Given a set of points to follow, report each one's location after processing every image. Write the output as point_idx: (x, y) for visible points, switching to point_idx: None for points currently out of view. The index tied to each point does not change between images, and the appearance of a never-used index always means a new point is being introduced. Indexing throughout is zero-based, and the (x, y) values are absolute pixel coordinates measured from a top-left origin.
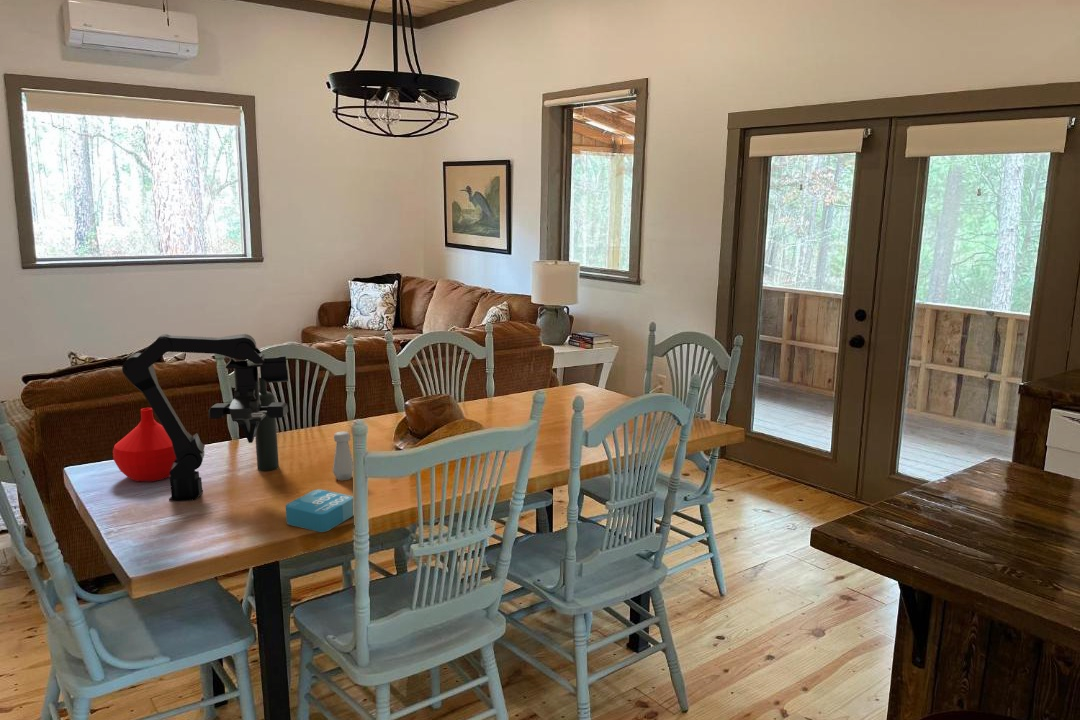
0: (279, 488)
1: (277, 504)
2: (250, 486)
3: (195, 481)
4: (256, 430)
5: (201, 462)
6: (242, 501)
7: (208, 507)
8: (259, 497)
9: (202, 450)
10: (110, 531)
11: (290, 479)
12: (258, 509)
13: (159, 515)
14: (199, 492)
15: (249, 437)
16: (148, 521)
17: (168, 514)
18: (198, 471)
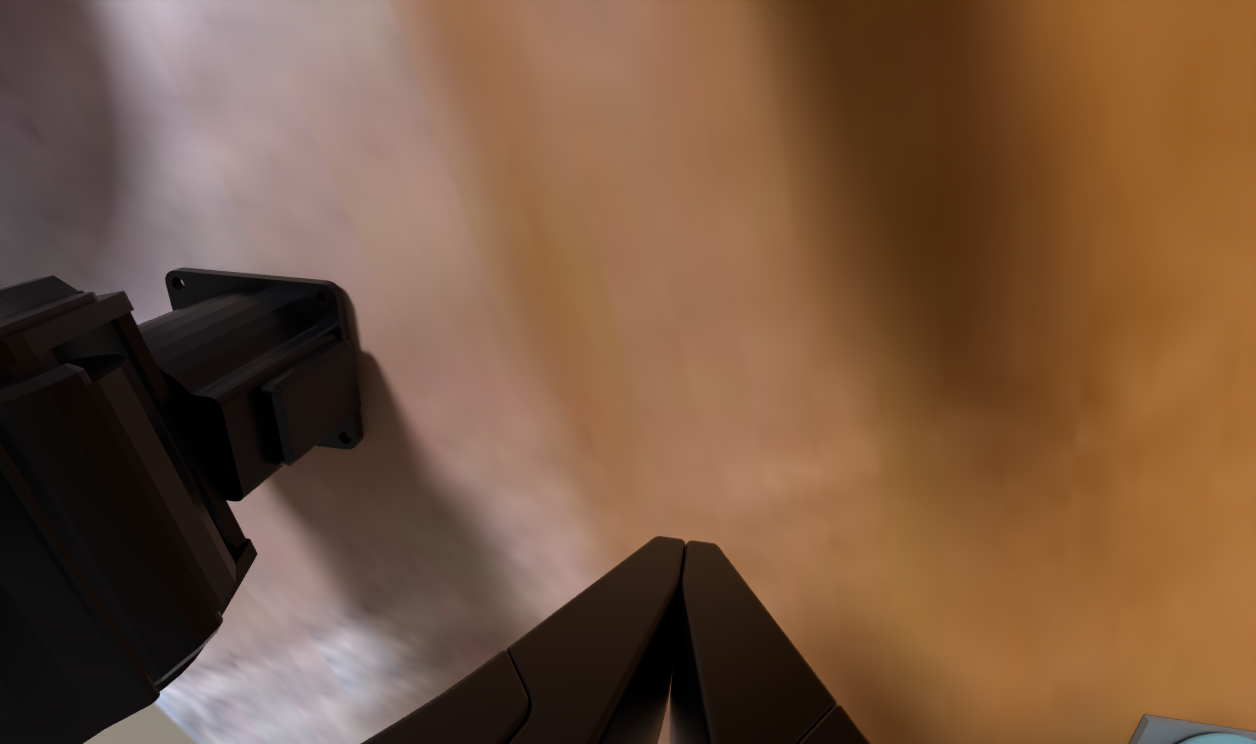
0: (932, 281)
1: (925, 595)
2: (667, 192)
3: (281, 465)
4: (812, 676)
5: (222, 596)
6: (677, 502)
7: (494, 554)
8: (784, 453)
9: (110, 665)
10: (189, 717)
11: (1048, 14)
12: (806, 642)
13: (287, 604)
14: (350, 405)
15: (663, 707)
16: (279, 659)
17: (324, 602)
18: (219, 406)
